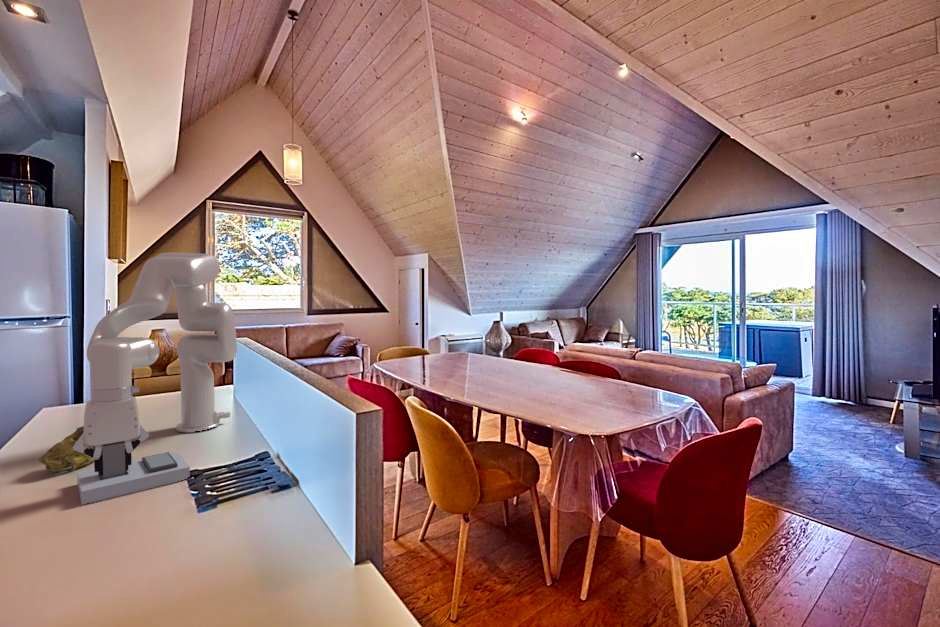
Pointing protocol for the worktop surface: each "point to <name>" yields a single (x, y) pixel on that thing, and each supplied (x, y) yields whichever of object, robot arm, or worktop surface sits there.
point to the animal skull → (66, 454)
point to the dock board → (133, 477)
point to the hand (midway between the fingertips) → (113, 470)
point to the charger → (113, 460)
